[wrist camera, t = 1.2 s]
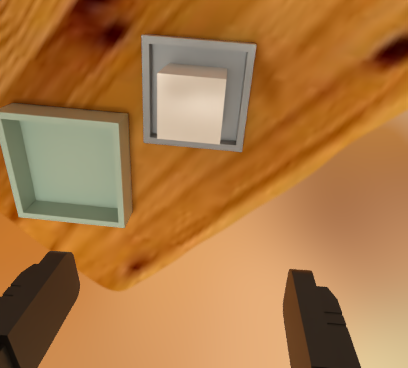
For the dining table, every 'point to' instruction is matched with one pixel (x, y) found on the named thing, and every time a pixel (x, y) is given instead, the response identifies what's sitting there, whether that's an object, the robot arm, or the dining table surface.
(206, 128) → the beige block
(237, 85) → the bin
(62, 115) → the bin
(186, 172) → the dining table surface
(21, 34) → the dining table surface
